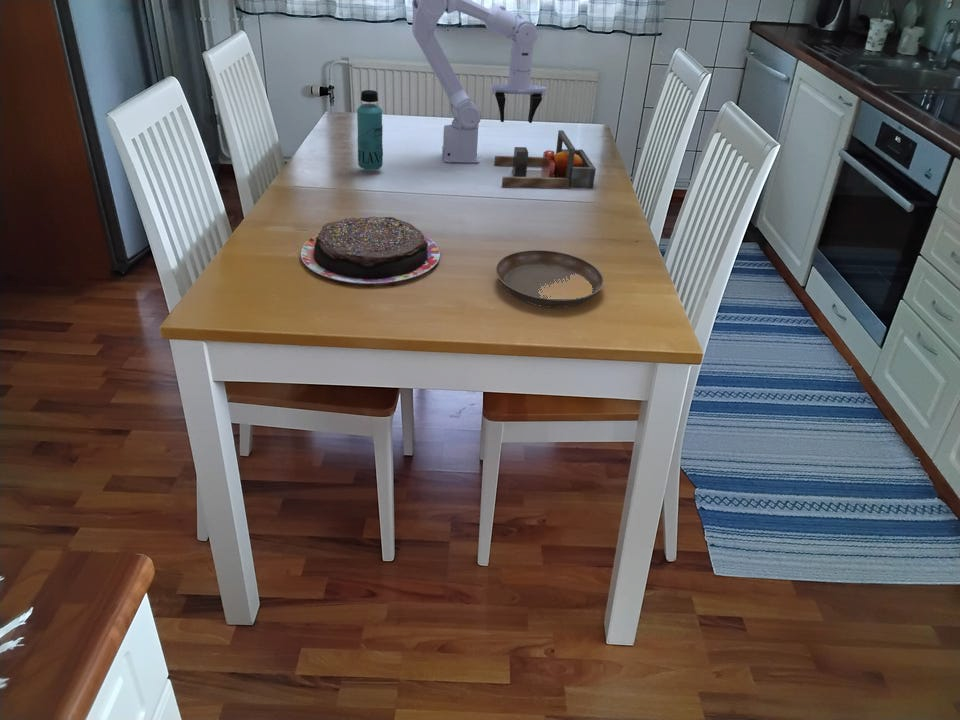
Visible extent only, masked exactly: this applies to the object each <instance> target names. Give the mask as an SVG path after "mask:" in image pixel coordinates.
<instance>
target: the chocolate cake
mask: <svg viewBox="0 0 960 720" xmlns="http://www.w3.org/2000/svg"><path fill="white" fill-rule="evenodd" d="M299 258H300V260H301V261H302V263H303V264H304V265H305V267H306V268H307V269H308V270H309V271H310V272H312V273H313V274H316V275H318V276H319V277H322V278H324V279H326V280H328V281H330V282H334V283H337V284H340V285H348V284H353V285H357V286H361V287H363V288H366V287H367V288H371V287H375V286H377V285H383V286H389V287H394V286H396V285H398V284H401V282H402V283H405V281H406V282H408V281H411V280H413V279H415V278H416V279H417V278H418V277H420V276H422V275H424V274H427V273H429V272H430V271H431V270H433V269H435V268H436V266H437V264H438V263H439V261H440V258H441V251H440V248H439V245H437V243H436V242H435V241H433V239H431V238H429V237H427V236H426V235H424V234H423V233H422V231H421V230H419V229H418V228H417V227H415V226H414V225H413V224H411V223H409V222H407V221H405V220H401V219H400V218H399V219H398V217H394V216H385V217H384V216H382V217H380V216H375V215H373V216H370V217H347V218H344V219H341V220H338V221H331V222H327V223H326V224H323V225H322V227H321V230H320V231H319V233H318V234H316V235H314V236H313V237H311V238H309V239H308V240H306V242H304V244H303V245H302V247H301V248H300V257H299Z"/></svg>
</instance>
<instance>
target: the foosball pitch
mask: <svg viewBox="0 0 960 720" xmlns="http://www.w3.org/2000/svg"><path fill="white" fill-rule="evenodd" d="M557 133H558V134H557V141H556V150H555V154H556V153H559V152H562V151H568V152H569V155H568V162H567V170H566V178H555V177H554V178H545V177H514V176H502V182H501V187H502V188H521V189H524V188H525V189H529V188H530V189H569V188H578V189H579V188H581V189H582V188H583V189H584V188H585V189H593V188H594V183H595V177H596V171H597V170H596V167H595V166H594V164H593V163H592V161H591V160H590V158H589V157H588V155H587V154H586V152H585V151H584V150H583V149H577V148H575V146H574V145H573V144H572V142H571V140H570V139H569V137H568V136H567V134H566V132H565V131H564V130H561V129H559V130H558V131H557ZM563 144H564V145H565V147H566V148H565V149H564V148H563ZM574 154H576V155H578V156H579V157H580V158H581V159H582V162H583V166H582V167H573V161H574ZM513 160H514V155H512V156H509V155H494V163H493V165H494V167H513ZM552 160H553V159H552ZM542 162H543V156H528V162H527V168H530V167H531V168H542Z"/></svg>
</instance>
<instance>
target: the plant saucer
mask: <svg viewBox="0 0 960 720" xmlns="http://www.w3.org/2000/svg"><path fill="white" fill-rule="evenodd" d="M575 273H576V274H578V275H580V276H582V277H584V278H585V279H586V280H587V281H589V283H590V284H591V285H592V288H593V289H592V290H593V291H592V294H590V295H588V296H585V297H581V298H576V299H547V298H548V297H547V296H546V295H545V296H546V297H547V298H546V297H545V296H544V295H543V296H544V297H545V298H544V297H543V296H542V297H543V298H541V297H540V296H541V295H540V294H539V293H538V292H539V290H540V291H541V290H542V289H540V288H541V286H544V285H545V283H546V285H547V284H548V285H549V284H550V285H551V284H552V283H553V284H554V282H555V281H556V282H557V281H558V279H560V280H561V282H562V283H563V281H564V280H563V281H562V279H563V278H564V279H565V281H566V276H567V278H568V279H569V280H570V275H571V274H572V275H573V274H574V275H575ZM495 274H496V275H497V278H498V280H499V281H500V283H501V284H502V285H503V287H504V288H505V289H506V291H508V292H509V293H510V294H511V295H513V296H514V297H516V298H517V299H519V300H521V301H523V302H525V301H526V302H525V303H528V302H529V303H528V304H531V303H532V304H531V305H534V304H536V305H535V306H538V305H541V306H540V307H544V306H550V307H549V308H566V307H565V306H569V307H573V306H572V305H574V306H577V304H578V305H581V304H582V303H584V302H587V301H588V300H590V299H591V298H593V297H594V296H596V294H598V292H599V291H600V290H602V287H604V276H603V275H602V272H601V271H600V270H599V269H598V268H597V267H596V266H595V265H593V264H592V263H591V262H589V261H586V260H584V259H583V258H581V257H578V256H575V255H571V254H569V253H564V252H559V251H553V250H540V249H539V250H538V249H533V250H531V249H530V250H523V251H517V252H514V253H510V254H508V255H506V256H504V257H503V258H501V259H500V260H499V261H498V262H497V264H496V265H495ZM554 279H555V281H554ZM560 280H559V281H560ZM559 281H558V282H557V283H559ZM567 281H568V280H567ZM567 281H566V282H567ZM550 282H551V283H550ZM540 284H541V285H540ZM546 285H545V286H546ZM550 285H549V287H550ZM544 288H545V287H544ZM538 289H539V290H538ZM542 292H543V291H542ZM542 292H541V293H542ZM550 297H551V296H550Z"/></svg>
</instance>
